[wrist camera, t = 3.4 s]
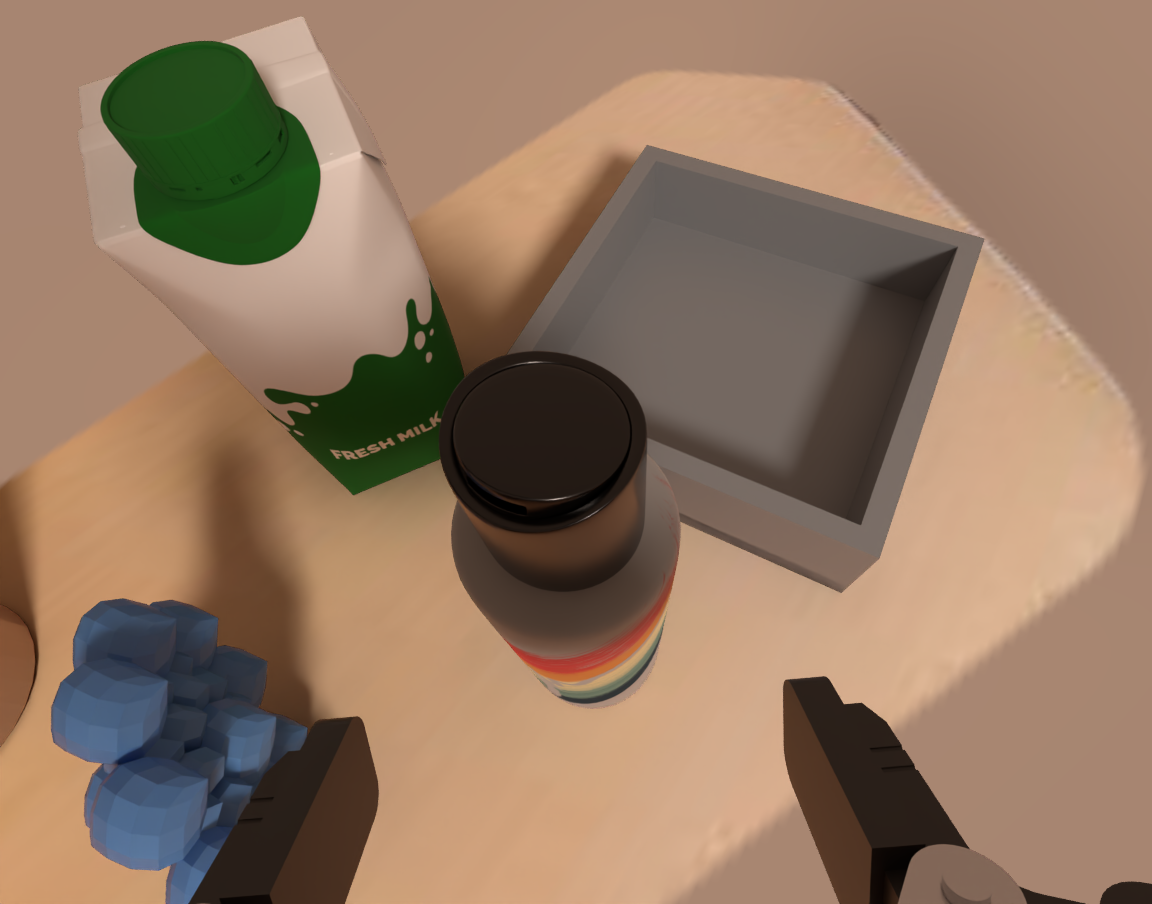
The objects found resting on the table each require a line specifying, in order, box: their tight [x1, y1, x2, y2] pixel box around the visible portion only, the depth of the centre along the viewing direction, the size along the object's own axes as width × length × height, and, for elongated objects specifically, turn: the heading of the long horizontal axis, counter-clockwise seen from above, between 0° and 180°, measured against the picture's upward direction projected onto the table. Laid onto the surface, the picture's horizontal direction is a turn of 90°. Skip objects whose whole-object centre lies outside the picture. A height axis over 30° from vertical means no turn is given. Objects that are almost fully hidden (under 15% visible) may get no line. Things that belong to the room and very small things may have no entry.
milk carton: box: [78, 17, 465, 495], centre depth 26 cm, size 9×9×20 cm
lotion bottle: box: [439, 351, 680, 709], centre depth 20 cm, size 6×6×20 cm
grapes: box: [51, 598, 308, 904], centre depth 22 cm, size 12×7×12 cm, turn 30°
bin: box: [507, 145, 984, 593], centre depth 33 cm, size 18×18×5 cm
